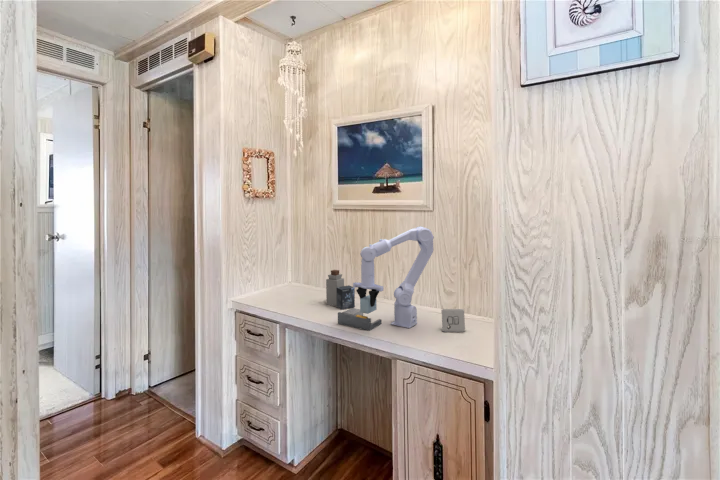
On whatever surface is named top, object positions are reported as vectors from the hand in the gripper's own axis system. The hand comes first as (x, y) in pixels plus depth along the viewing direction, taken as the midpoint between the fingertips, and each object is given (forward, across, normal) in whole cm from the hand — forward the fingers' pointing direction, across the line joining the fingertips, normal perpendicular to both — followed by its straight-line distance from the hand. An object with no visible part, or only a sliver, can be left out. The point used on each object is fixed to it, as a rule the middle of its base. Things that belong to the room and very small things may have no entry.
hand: (368, 305), depth 162 cm
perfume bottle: (+9, -32, +18) cm, 38 cm away
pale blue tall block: (+3, 0, 0) cm, 3 cm away
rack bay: (+9, -4, -1) cm, 10 cm away
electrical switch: (+9, +33, +14) cm, 37 cm away
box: (+9, -24, +16) cm, 30 cm away
